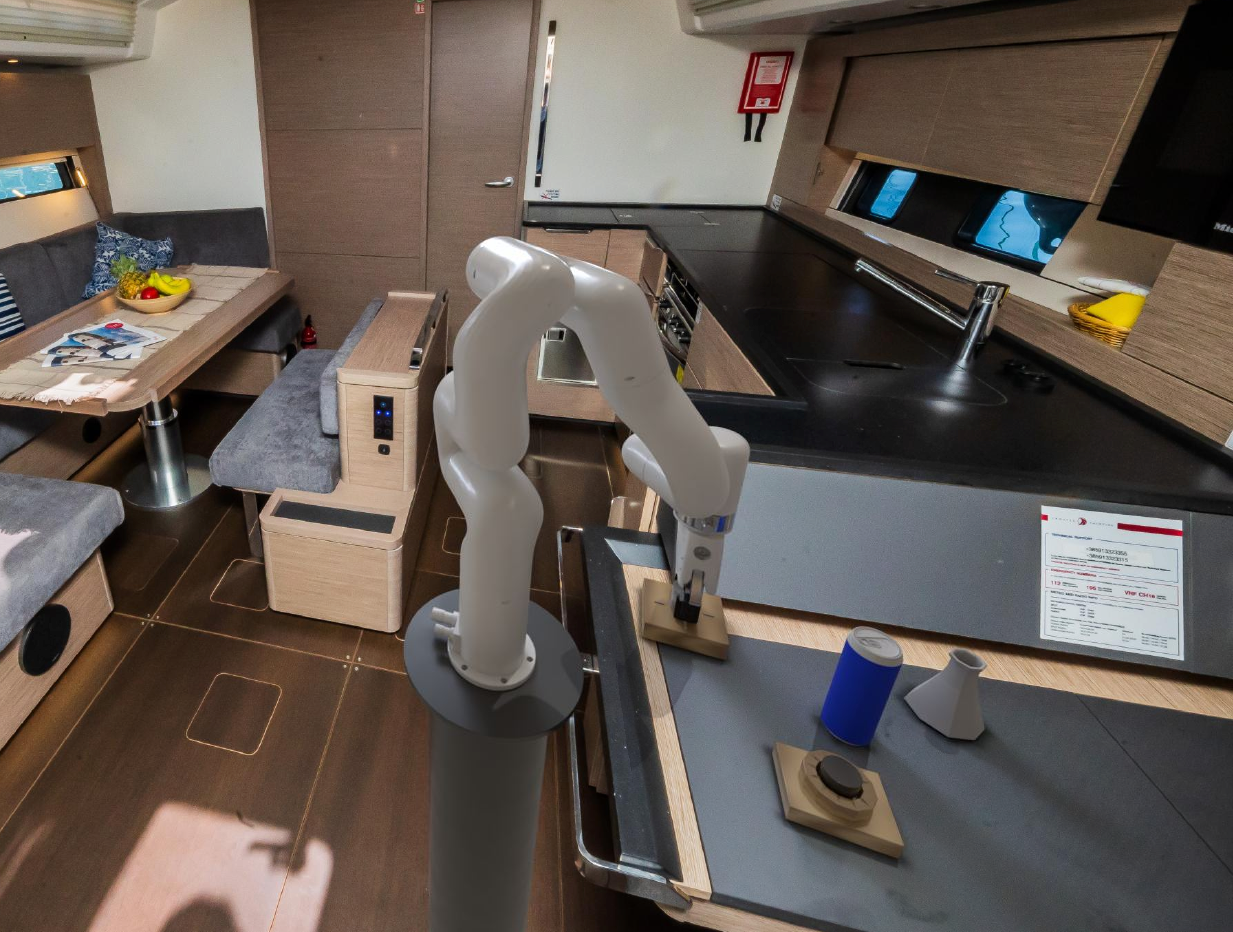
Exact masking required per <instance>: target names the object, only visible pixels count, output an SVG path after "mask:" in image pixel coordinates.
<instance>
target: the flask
mask: <svg viewBox="0 0 1233 932" xmlns="http://www.w3.org/2000/svg"><path fill="white" fill-rule="evenodd" d="M948 657H950V659H949V661H948V663H947V665H946V666H945V667H944V668H943V669H942V671H939V672H938V673H937V674H935V675H934V676H932V677H931V678H928V679H927V680H926V681H924V682H922V683H921V684H919V685H917V686H915V687H914V688H913V689H912V690H911V691H910V692H909V693H907V695H906V696H904V697H903V699H904V700H905V701H906V703H907V704H908V706H910V708H911V709H912V710H913V712H914V713H915V714H916V716H917V717H918V719H919V720H921V721H923V722H925V724H927V725H929V726H931V727H932V728H933V729H935V730H937V731H938V732H940V733H941V734H943V735H944V736H946V737H947V738H952V739H960V740H968V741H969V740H970V741H971V740H972V741H976V739H977V738H978V737H979V736H980V735H981V734H982V733H983V732H984V731H985V730H986V728H985V723H984V722H985V721H984V718H983V713H982V708H981V703H980V697H979V691H978V690H979V689H978V686H979V685H978V684H979V676H980V674H981V673H982V672H983V671H984V670H985V669H987V668H988V664H987V663H986V662H985V661H984V660H983V658H982V657H980V655H978V654H976V653H974V652H972V651H970V650H969V649H966V648H958V647H953V648H952V649H951V650H950V651H949V652H948Z"/></svg>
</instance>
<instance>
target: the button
mask: <svg viewBox="0 0 1233 932" xmlns="http://www.w3.org/2000/svg"><path fill="white" fill-rule="evenodd" d="M843 758H844V757H843ZM843 758H841V757H838V756H834V755H828V756H825V757H824V758H823V760H822V762H821V765H820V768H819V776H820V779H821V780H822V782H823V783H824V784H825V786H826V787H827V788H829V789H830V790H831V791H833V792H834V793H836V794H837V795H839V796H842V797H845V798H855V797H857V796H858V794H859V792H860V789H861V787H862V784H863V779H862V776H861V774H860V772H859V771H858V770H857V769H856V768H855V767H854V766H853V765H852V764H853V763H852V762H851V761H849V760H848V759H846V758H845V759H846V760H845V759H843ZM847 760H848V761H849V762H848V761H847ZM850 762H851V763H852V764H851V763H850Z"/></svg>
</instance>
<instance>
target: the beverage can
mask: <svg viewBox="0 0 1233 932" xmlns="http://www.w3.org/2000/svg"><path fill="white" fill-rule="evenodd" d="M903 663H904V653H903V649H902V646H901V645H900V644H899V642H898V641H896V639H894V638H893V637H891V636H890V635H889V634H887V633H885V632H883V631H881V630H879V629H877V628H874V627H870V626H857V627H854V628H853V629H852V630H851V631H850V632H849V633H848V634H847V636H846V639H845V642H844V644H843V647H842V649H841V653H840V656H839V659H838V663H837V665H836V668H835V671H834V673H833V677H832V679H831V683H830V685H829V688H828V691H827V694H826V696H825V700H824V702H823V705H822V708H821V711H820V719H821V721H822V723H823V725H824V727H825V728H826V729H827V731H828V732H829V733H830V734H831V735H832V736H833V737H834V738H836V739H838V740H839V741H841V742H842V743H845V744H847V745H850V746H855V747H862V746H868V745H869V744H870V743H872V740H873V738H874V736H875V734H876V731H877V728H878V725H879V724H880V721H881V718H882V716H883V714H884V711H885V708H886V706H887V703H888V701H889V697H890V696H891V693H892V691H893V689H894V686H895V683H896V680H897V678H898V675H899V673H900V671H901V668H902V665H903Z"/></svg>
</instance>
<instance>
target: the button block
mask: <svg viewBox="0 0 1233 932" xmlns="http://www.w3.org/2000/svg"><path fill="white" fill-rule="evenodd" d="M771 754H772V759H773V763H774V769H775V774H776V778H777V783H778V787H779V792H780V797H781V803H782V807H783V811H784V816H785V819H786V820H788V821H791V822H793V823H796V824H799V825H802V826H805V827H808V828H811V829H814V830H817V831H819V832H822V833H824V834H827V835H830V836H833V837H835V838H839V839H841V840H844V841H847V842H850V843H852V844H856V845H858V846H860V847H864V848H866V849H869V850H873V851H874V852H878V853H881V854H883V855H886V856H889V857H891V858H895V859H897V860H898V859H899V858H900V856H901V855H902V853H903V850H904V849H905V844H904V841H903V838H902V835H901V833H900V830H899V827H898V825H897V822H896V819H895V816H894V814H893V811H892V807H891V805H890V802H889V800H888V797H887V794H886V791H885V789H884V786H883V784H882V780H881V778H880V775H879V773H878V772H875V771H871V770H868V769H865V768H862V767H859V766H857V765H855V764H854V763H853V762H851V761H849V760H848V759H846V758H845V757H844V756H843V755H840V754H838V753H834V752H831V751H829V750H828V751H827V750H824V749H818V750H812V751H808V750H805V749H803V748H802V749H801V748H798V747H795V746H792V745H789V744H786V743H782V742H779V741H775V742H774V746H773V749H772V753H771ZM828 755H834V756H838V757H841V758H843V759H845V760H847V761H848V762H850V763H851V764H852V765H853V766H854V767H855V768H856V769H857V770H858V771H859V772H860V774H861V776H862V779H863V784H862V787H861V789H860V792H859V794H858V796H857V797H855V798H845V797H842V796H839V795H837V794H836V793H834V792H833V791H831V790H830V789H829V788H827V787H826V786H825V784H824V783H823V782H822V780H821V779H820V776H819V768H820V765H821V762H822V760H823V758H824V757H825V756H828Z"/></svg>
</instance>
